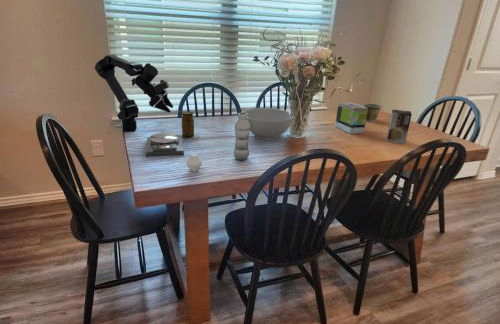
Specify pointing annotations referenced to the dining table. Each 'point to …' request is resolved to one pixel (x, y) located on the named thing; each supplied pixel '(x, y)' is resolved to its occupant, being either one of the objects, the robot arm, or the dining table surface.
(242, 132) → the plastic bottle
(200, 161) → the white egg shape
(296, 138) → the dining table surface
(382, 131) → the dining table surface
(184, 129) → the condiment
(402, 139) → the coffee box
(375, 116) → the ceramic cup
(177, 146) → the scale base
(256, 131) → the decorative bowl
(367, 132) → the dining table surface
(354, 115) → the tea box
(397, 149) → the dining table surface
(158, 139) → the scale pan
